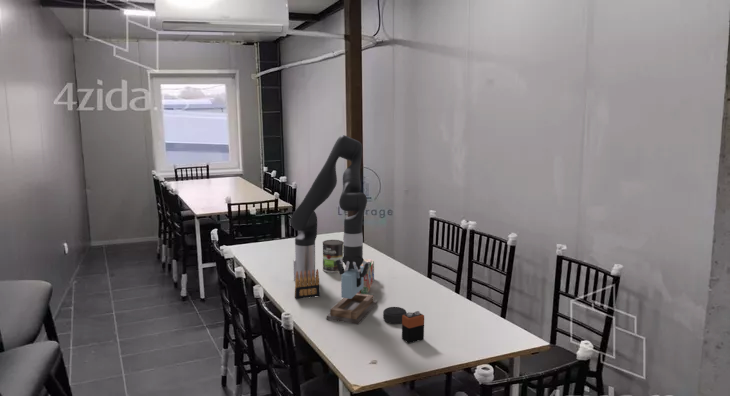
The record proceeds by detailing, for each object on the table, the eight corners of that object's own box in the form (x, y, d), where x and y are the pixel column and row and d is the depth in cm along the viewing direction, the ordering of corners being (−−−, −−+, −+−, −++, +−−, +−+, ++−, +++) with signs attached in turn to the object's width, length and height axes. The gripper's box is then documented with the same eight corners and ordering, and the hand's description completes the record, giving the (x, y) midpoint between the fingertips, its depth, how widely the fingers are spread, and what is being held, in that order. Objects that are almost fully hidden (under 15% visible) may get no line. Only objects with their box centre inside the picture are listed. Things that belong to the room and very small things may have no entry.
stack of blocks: (361, 278, 260) (361, 253, 258) (374, 278, 259) (374, 253, 257) (353, 293, 239) (353, 266, 237) (367, 294, 239) (368, 266, 236)
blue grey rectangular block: (341, 297, 211) (341, 274, 209) (354, 286, 224) (354, 264, 222) (351, 298, 209) (351, 276, 208) (363, 287, 222) (363, 265, 221)
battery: (401, 339, 193) (401, 312, 191) (416, 335, 196) (417, 308, 194) (408, 344, 189) (409, 316, 187) (424, 339, 192) (425, 312, 191)
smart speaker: (399, 326, 204) (399, 316, 203) (378, 321, 209) (378, 311, 208) (410, 318, 211) (410, 309, 211) (390, 314, 216) (390, 304, 215)
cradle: (326, 319, 210) (326, 309, 209) (347, 300, 230) (347, 291, 230) (358, 324, 205) (358, 314, 205) (376, 304, 226) (377, 295, 225)
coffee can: (338, 273, 266) (338, 245, 264) (319, 271, 270) (318, 243, 268) (346, 268, 276) (346, 240, 273) (328, 265, 280) (328, 238, 277)
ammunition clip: (295, 299, 231) (295, 271, 229) (294, 297, 233) (294, 270, 231) (320, 296, 235) (320, 269, 233) (318, 294, 237) (318, 268, 235)
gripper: (332, 244, 212) (332, 286, 215) (367, 247, 207) (366, 291, 210) (339, 239, 219) (339, 281, 222) (373, 242, 214) (373, 285, 217)
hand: (352, 285), depth 216 cm, fingers closed on blue grey rectangular block, 4 cm apart
